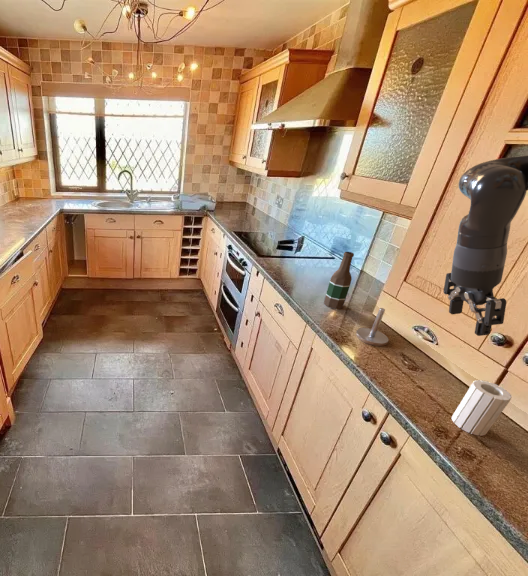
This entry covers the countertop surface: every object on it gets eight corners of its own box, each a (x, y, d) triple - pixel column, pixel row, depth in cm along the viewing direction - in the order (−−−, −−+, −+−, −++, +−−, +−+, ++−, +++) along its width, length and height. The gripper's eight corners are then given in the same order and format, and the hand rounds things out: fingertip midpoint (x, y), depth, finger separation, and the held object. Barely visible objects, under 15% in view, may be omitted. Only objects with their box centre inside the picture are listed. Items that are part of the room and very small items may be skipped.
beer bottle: (336, 311, 128) (353, 257, 117) (319, 303, 134) (333, 251, 123) (347, 306, 131) (364, 253, 121) (330, 298, 138) (345, 248, 127)
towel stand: (383, 333, 113) (395, 305, 108) (390, 348, 106) (403, 318, 100) (353, 328, 117) (363, 300, 111) (357, 342, 109) (368, 313, 104)
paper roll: (478, 419, 80) (502, 384, 74) (491, 439, 74) (518, 403, 69) (447, 411, 82) (468, 377, 76) (457, 430, 77) (480, 395, 71)
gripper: (531, 272, 57) (514, 340, 64) (475, 245, 70) (465, 304, 76) (480, 280, 60) (469, 345, 67) (434, 252, 72) (429, 309, 79)
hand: (467, 323), depth 71 cm, fingers open, 8 cm apart
